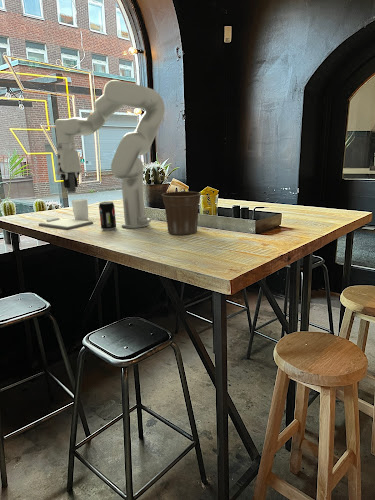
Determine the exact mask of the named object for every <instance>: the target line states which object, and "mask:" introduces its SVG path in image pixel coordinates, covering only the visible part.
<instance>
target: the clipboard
mask: <svg viewBox="0 0 375 500" xmlns="http://www.w3.org/2000/svg"><path fill="white" fill-rule="evenodd" d="M93 224H94V223H93V221H90V220H75V218H73V219H72V218H67V217H66V218H60V217H54V218H50V219H46V220H45V222H39V223H38V226H40V227H46V228H52V229H59V230H67V231H68V230H73V229H77V228H80V227H86V226H89V225H93Z"/></svg>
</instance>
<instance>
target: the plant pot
mask: <svg viewBox="0 0 375 500" xmlns="http://www.w3.org/2000/svg"><path fill="white" fill-rule="evenodd" d="M201 196H202V193H201V192H200V191H199V192H197V191H187V190H186V191H170V192H169V191H168V192H164V193H162V194H161V197H162V201H163V205H164V210H165V218H166V227H167V233H169V234H171V235H174V236H184V235H187V234H188V235H191V234H192V235H193V234H196V233H197V232H198V220H199V219H198V218H199V207H200V203H201Z"/></svg>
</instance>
